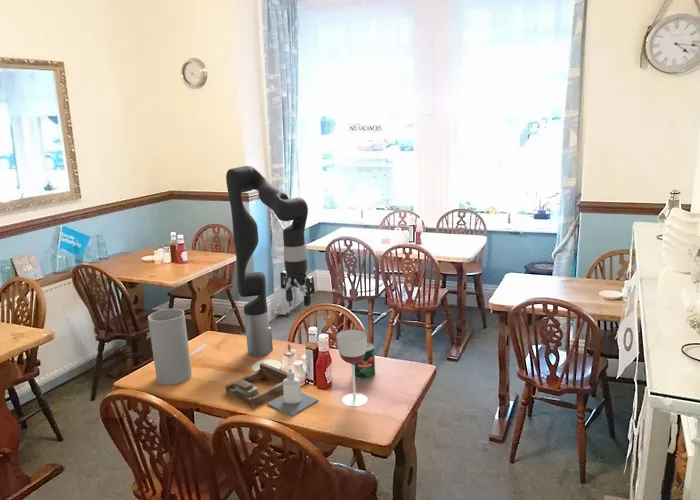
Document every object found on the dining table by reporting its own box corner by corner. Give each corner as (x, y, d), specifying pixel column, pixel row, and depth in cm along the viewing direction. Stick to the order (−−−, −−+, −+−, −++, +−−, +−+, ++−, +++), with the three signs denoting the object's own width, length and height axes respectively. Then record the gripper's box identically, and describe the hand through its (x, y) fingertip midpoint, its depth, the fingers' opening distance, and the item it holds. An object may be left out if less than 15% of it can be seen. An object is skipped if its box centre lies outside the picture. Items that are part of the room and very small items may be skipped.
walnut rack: (263, 375, 210) (262, 362, 209) (292, 387, 200) (291, 374, 199) (225, 393, 198) (224, 380, 197) (254, 407, 188) (253, 393, 187)
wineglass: (360, 409, 184) (357, 343, 178) (334, 402, 189) (330, 337, 183) (374, 396, 191) (372, 333, 186) (349, 390, 196) (346, 327, 191)
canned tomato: (361, 381, 202) (360, 352, 200) (349, 373, 209) (348, 345, 206) (379, 375, 206) (378, 347, 204) (367, 367, 213) (366, 340, 210)
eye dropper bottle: (295, 406, 186) (293, 373, 183) (282, 402, 189) (279, 369, 186) (303, 400, 190) (301, 367, 187) (290, 396, 193) (287, 364, 190)
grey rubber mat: (293, 390, 198) (293, 389, 198) (318, 401, 190) (318, 399, 190) (267, 404, 189) (267, 403, 189) (292, 416, 182) (292, 415, 181)
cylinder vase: (150, 379, 211) (141, 316, 205) (180, 367, 220) (172, 306, 214) (168, 389, 203) (159, 324, 197) (198, 376, 212) (190, 313, 205)
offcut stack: (242, 390, 200) (241, 377, 199) (259, 397, 195) (258, 385, 193) (233, 394, 197) (232, 382, 196) (250, 402, 192) (248, 389, 190)
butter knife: (209, 344, 240) (203, 343, 241) (168, 373, 215) (161, 372, 216) (209, 345, 240) (203, 344, 241) (168, 375, 216) (161, 373, 217)
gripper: (318, 258, 189) (321, 304, 194) (289, 252, 199) (292, 296, 203) (302, 263, 184) (305, 310, 188) (272, 257, 193) (276, 302, 197)
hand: (298, 303), depth 195 cm, fingers open, 8 cm apart
